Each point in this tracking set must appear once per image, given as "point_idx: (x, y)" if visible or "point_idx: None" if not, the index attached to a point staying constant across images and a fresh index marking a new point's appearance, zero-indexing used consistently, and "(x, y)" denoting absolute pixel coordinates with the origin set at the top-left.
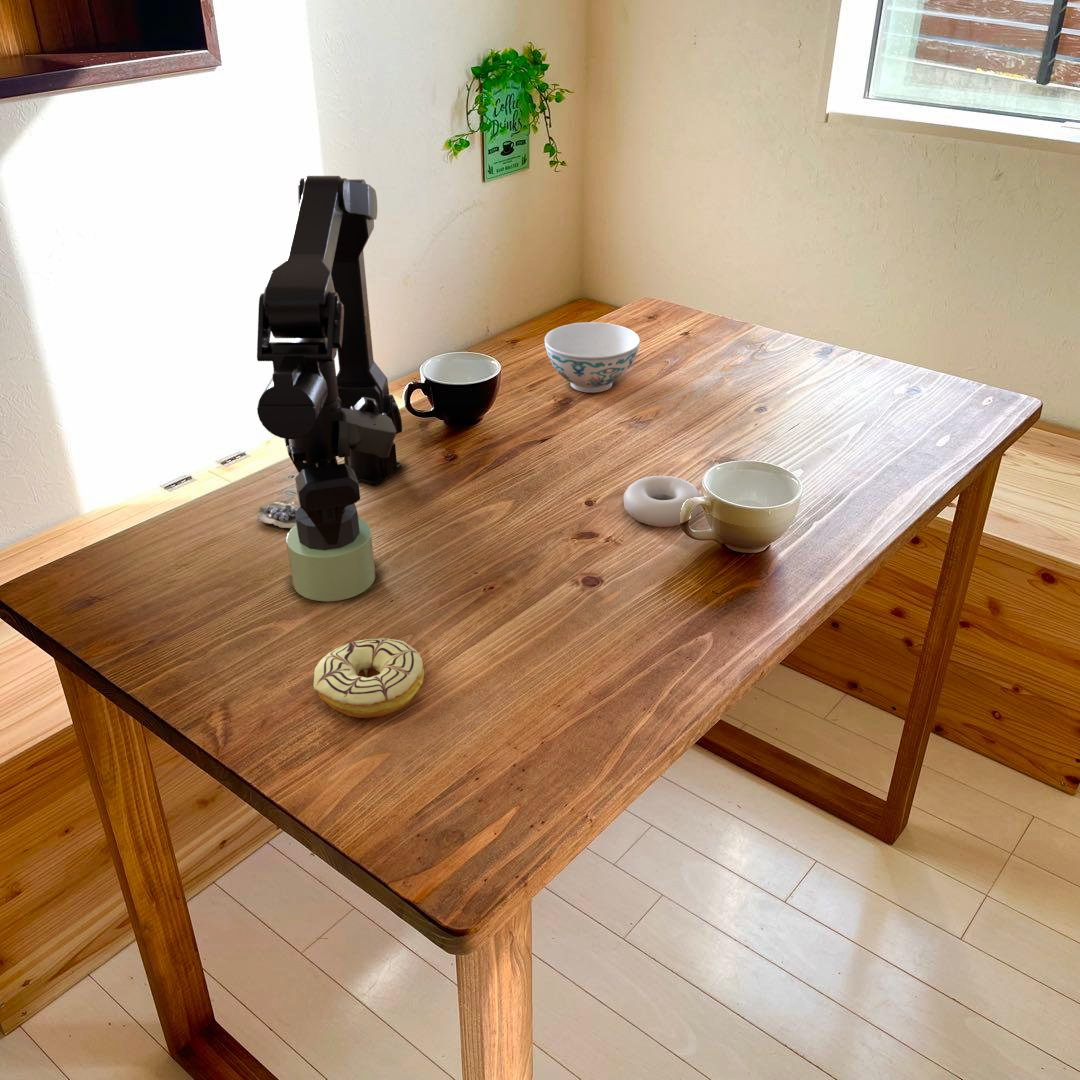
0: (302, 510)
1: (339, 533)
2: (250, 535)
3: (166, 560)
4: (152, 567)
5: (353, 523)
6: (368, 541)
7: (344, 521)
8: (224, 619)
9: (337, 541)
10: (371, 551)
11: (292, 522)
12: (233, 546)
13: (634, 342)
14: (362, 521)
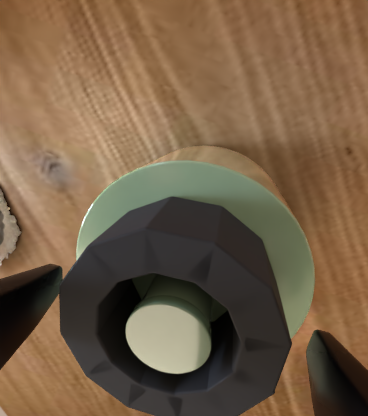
0: (123, 388)
1: (366, 369)
2: None
3: (58, 389)
4: (70, 404)
5: (257, 260)
6: (272, 192)
7: (279, 318)
8: None
9: (336, 341)
10: (255, 172)
11: (2, 229)
12: (47, 318)
13: None
14: (152, 171)
